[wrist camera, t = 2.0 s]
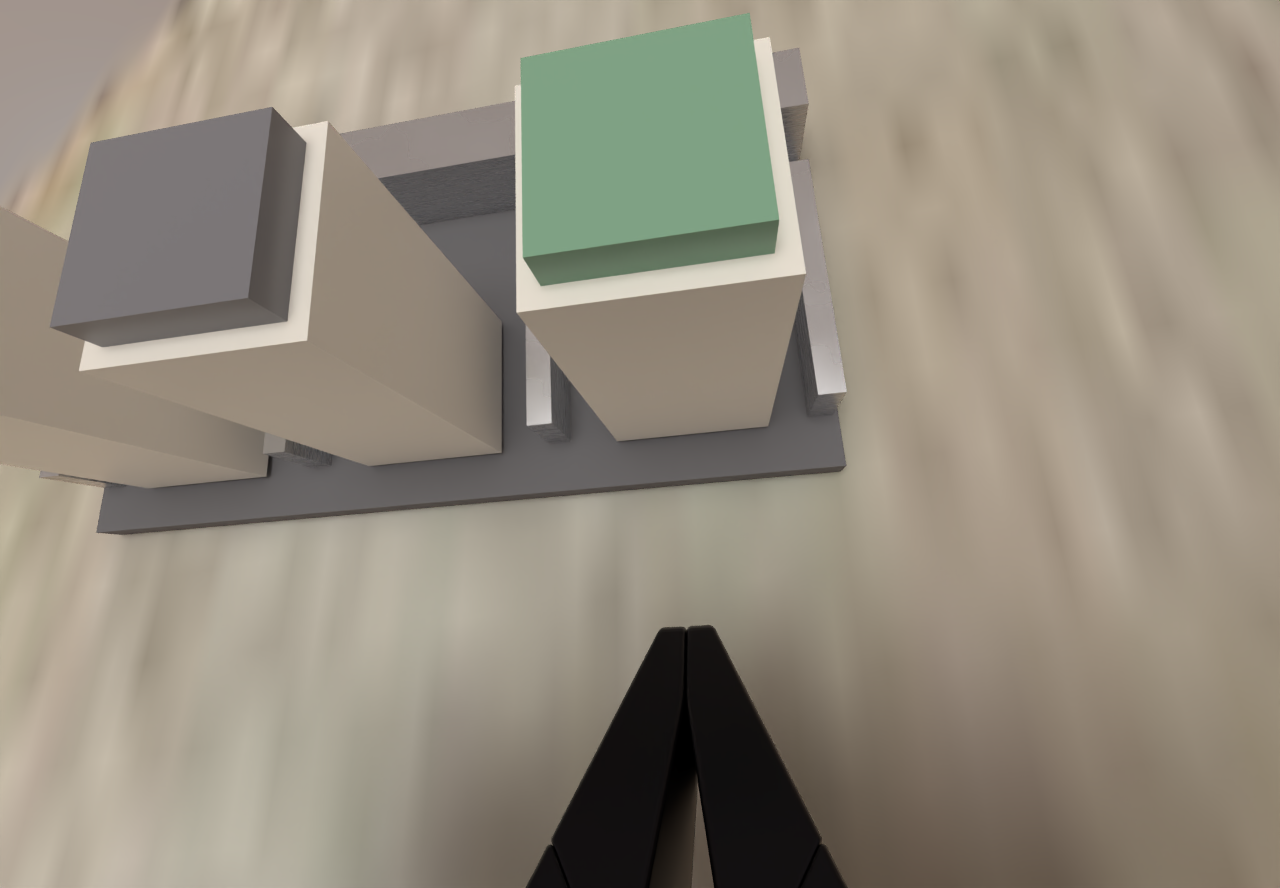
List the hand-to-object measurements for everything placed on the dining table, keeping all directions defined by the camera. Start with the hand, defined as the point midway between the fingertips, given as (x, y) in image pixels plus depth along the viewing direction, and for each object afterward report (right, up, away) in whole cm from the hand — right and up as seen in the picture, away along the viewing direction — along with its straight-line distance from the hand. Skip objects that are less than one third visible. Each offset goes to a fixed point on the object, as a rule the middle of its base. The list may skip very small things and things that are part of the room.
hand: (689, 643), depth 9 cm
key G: (+1, +6, +8) cm, 10 cm away
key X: (-7, +5, +10) cm, 13 cm away
